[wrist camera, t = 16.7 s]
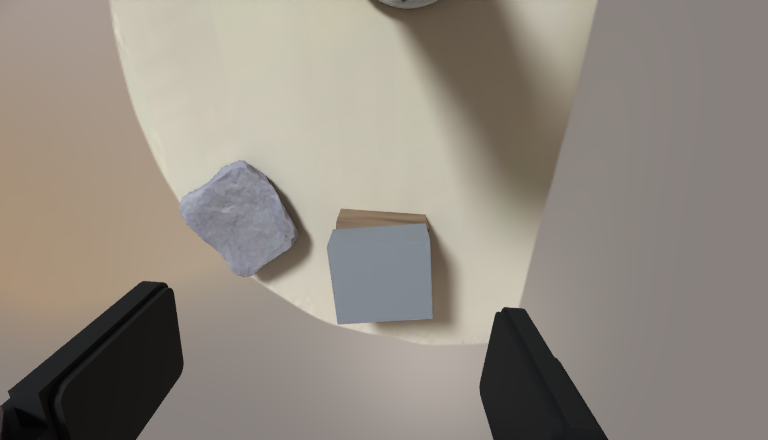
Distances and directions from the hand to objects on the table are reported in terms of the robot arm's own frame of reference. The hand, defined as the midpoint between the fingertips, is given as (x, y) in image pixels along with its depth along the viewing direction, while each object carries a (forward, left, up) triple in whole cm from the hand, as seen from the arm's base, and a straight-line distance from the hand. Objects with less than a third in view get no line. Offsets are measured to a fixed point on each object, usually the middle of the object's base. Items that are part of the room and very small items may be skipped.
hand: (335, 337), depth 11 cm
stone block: (+6, -10, -32) cm, 34 cm away
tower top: (+12, +2, -28) cm, 31 cm away
